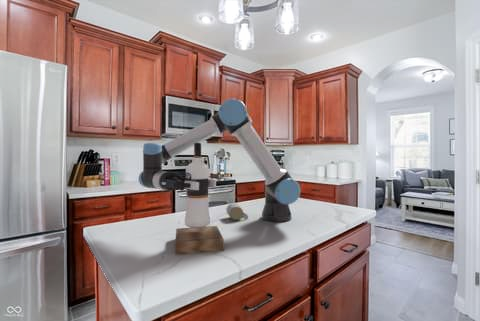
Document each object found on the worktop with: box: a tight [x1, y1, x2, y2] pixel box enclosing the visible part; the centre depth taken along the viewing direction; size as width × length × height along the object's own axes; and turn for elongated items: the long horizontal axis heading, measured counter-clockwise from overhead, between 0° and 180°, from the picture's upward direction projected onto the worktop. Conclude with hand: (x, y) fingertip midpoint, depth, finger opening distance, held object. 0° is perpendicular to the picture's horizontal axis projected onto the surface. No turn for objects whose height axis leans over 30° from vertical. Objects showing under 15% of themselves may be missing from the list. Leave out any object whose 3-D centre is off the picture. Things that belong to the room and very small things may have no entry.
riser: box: [174, 225, 225, 256], centre depth 90 cm, size 16×16×4 cm
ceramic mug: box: [226, 202, 249, 221], centre depth 126 cm, size 11×8×8 cm
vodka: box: [184, 142, 211, 228], centre depth 89 cm, size 9×9×30 cm
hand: (207, 184), depth 86 cm, fingers closed on vodka, 8 cm apart
